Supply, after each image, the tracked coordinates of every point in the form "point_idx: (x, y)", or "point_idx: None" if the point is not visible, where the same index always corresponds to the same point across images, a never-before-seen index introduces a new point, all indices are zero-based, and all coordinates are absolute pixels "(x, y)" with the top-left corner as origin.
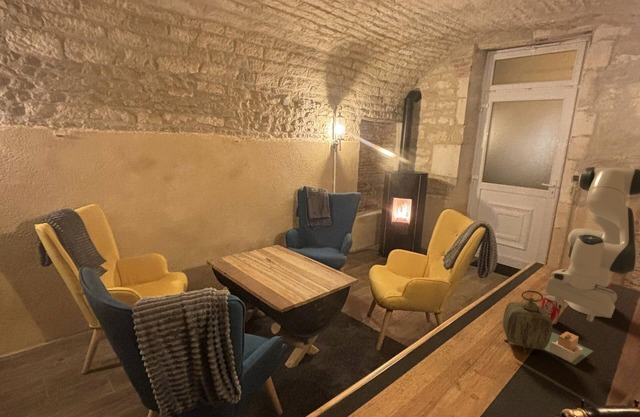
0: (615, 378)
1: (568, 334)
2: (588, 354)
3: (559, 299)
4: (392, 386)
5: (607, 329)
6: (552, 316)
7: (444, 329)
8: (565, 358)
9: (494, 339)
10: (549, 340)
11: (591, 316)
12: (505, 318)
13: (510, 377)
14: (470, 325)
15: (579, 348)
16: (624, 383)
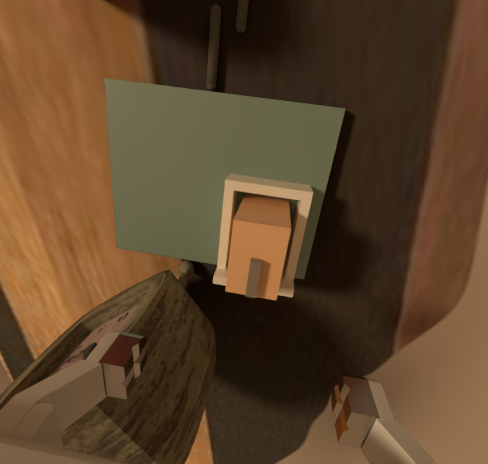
0: (421, 235)
1: (251, 263)
2: (331, 164)
3: (59, 447)
4: None
5: None
6: None
7: (4, 353)
8: None
9: (92, 304)
10: (212, 350)
11: (375, 460)
12: None
13: (204, 413)
14: (8, 285)
15: (300, 206)
16: (447, 243)
